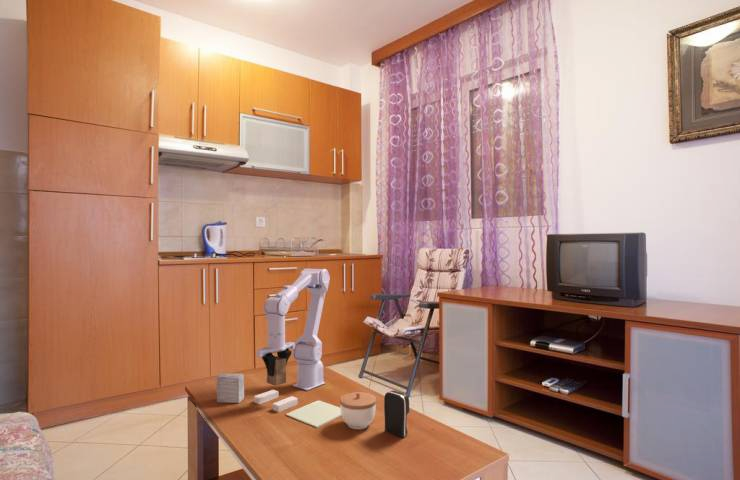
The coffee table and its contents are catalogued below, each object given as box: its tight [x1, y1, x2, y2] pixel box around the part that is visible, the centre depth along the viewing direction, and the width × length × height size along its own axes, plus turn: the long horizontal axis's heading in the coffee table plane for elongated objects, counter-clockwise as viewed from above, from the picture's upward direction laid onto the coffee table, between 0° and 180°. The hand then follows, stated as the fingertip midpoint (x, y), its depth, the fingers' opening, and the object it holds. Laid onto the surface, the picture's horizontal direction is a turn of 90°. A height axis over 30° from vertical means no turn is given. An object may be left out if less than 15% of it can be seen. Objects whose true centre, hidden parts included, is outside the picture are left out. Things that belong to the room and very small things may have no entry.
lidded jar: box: [339, 391, 377, 430], centre depth 121 cm, size 11×11×9 cm
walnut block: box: [266, 355, 287, 387], centre depth 137 cm, size 4×5×8 cm
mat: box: [285, 400, 342, 429], centre depth 128 cm, size 14×14×1 cm
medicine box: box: [216, 372, 245, 404], centre depth 139 cm, size 8×4×9 cm, turn 84°
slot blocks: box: [253, 389, 299, 413], centre depth 137 cm, size 8×13×2 cm, turn 51°
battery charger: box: [383, 390, 410, 438], centre depth 115 cm, size 7×4×11 cm, turn 49°
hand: (276, 373), depth 137 cm, fingers closed on walnut block, 4 cm apart
